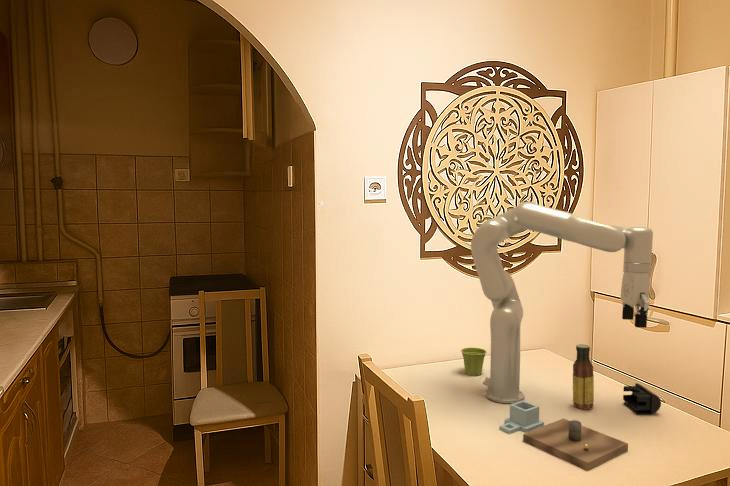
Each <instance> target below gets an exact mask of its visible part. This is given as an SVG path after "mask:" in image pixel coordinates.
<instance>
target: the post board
mask: <svg viewBox="0 0 730 486" xmlns="http://www.w3.org/2000/svg"><path fill="white" fill-rule="evenodd" d="M522 441H523V442H524V443H527V444H529V445H532V446H533V447H535V448H538V449H540V450H542V451H545V452H546V453H548V454H551V455H553V456H555V457H556V458H559V459H561V460H564V461H566V462H568V463H570V464H573V466H574V465H575V466H577V467H578V468H581V469H583V470H586V471H589V470H591V469H594V468H596V467H598V466H600V465H603V464H604V463H606V462H609V461H610V460H613V459H614V458H616V457H618V456H620V455H623V454H624V453H626V452H628V451H629V443H627V442H625V441H622V440H620V439H618V438H615V437H613V436H609V435H607V434H605V433H603V432H599V431H597V430H594V429H593V428H590V427H586V426H584V425H582V422H581V421H579V420H574V419H572V420H569V419H566V418H561V419H558V420H556V421H553V422H550V423H548V424H544V426H541V427H539V428H536V429H534V430H531V431H529V432H524V433H523V434H522ZM584 443H587V444H589V450H588V451H585V450H584Z"/></svg>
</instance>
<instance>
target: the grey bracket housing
mask: <svg viewBox="0 0 730 486" xmlns="http://www.w3.org/2000/svg"><path fill="white" fill-rule="evenodd" d="M542 426H545V422H544V421H543V420H540V406H539V405H537V404H533V403H532V402H528V401H526V400H524V399H523V400H522V401H519V402H517V403H510V404H509V417H508V418H505V419H504V424H501V425H499V430H501V431H503V432H504V433H506V434H509V435H511V434H513V433H516V432H518V431H522V432H524V433H527V432H530V431H532V430H535V429H537V428H540V427H542Z"/></svg>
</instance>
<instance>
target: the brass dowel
mask: <svg viewBox="0 0 730 486" xmlns="http://www.w3.org/2000/svg"><path fill="white" fill-rule="evenodd" d="M584 450H585V451H588V450H589V444H587V443H584Z"/></svg>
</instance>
